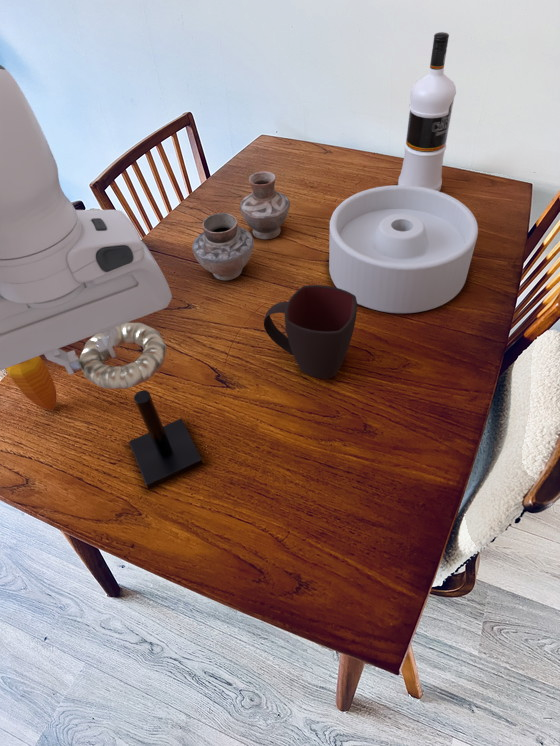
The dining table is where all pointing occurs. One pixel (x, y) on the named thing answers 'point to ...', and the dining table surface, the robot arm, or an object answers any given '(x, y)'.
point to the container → (401, 247)
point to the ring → (131, 372)
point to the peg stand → (162, 445)
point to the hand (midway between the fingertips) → (92, 362)
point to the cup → (316, 328)
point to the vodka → (429, 122)
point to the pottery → (241, 229)
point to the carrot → (35, 382)
